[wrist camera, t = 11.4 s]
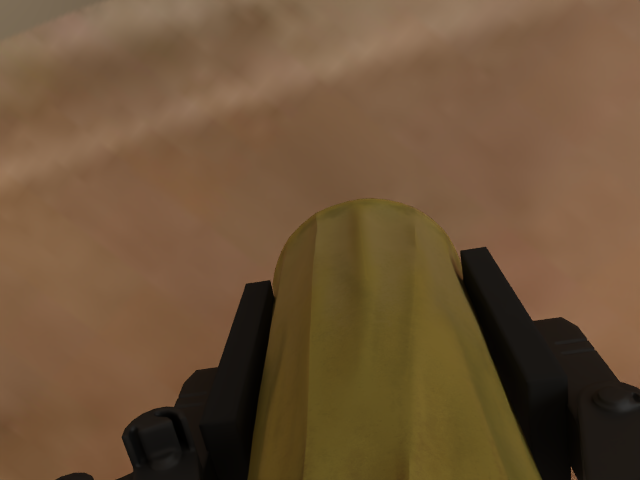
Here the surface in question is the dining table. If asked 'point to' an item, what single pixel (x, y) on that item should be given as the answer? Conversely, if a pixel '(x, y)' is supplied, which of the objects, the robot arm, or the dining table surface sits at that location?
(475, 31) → the dining table surface
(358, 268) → the vase
